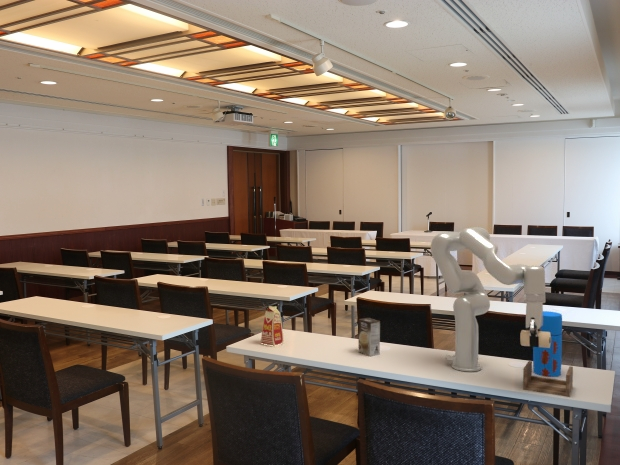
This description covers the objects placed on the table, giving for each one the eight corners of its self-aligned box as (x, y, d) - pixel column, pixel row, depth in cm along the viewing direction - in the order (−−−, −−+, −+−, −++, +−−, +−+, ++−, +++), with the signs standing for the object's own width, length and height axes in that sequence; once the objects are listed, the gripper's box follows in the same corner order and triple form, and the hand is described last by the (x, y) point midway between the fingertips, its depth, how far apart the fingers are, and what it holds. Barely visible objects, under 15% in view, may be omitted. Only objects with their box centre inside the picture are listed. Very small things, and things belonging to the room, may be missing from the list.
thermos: (537, 367, 238) (538, 310, 237) (564, 372, 231) (565, 313, 230) (529, 373, 230) (530, 314, 228) (556, 378, 223) (557, 317, 221)
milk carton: (274, 347, 274) (273, 307, 273) (259, 344, 279) (259, 305, 278) (285, 343, 282) (284, 304, 281) (270, 340, 287) (270, 302, 286)
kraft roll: (519, 347, 213) (519, 331, 213) (522, 343, 218) (522, 328, 218) (549, 349, 207) (549, 334, 207) (552, 346, 212) (551, 330, 212)
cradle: (523, 389, 211) (523, 368, 210) (528, 380, 221) (528, 360, 220) (569, 396, 202) (569, 375, 202) (572, 387, 213) (572, 366, 212)
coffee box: (357, 352, 264) (357, 319, 263) (367, 350, 267) (367, 317, 267) (370, 356, 256) (370, 322, 255) (380, 354, 260) (380, 320, 259)
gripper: (528, 294, 221) (529, 339, 222) (519, 300, 207) (521, 348, 207) (548, 295, 217) (549, 341, 218) (541, 301, 203) (542, 350, 203)
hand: (535, 344), depth 213 cm, fingers closed on kraft roll, 6 cm apart
